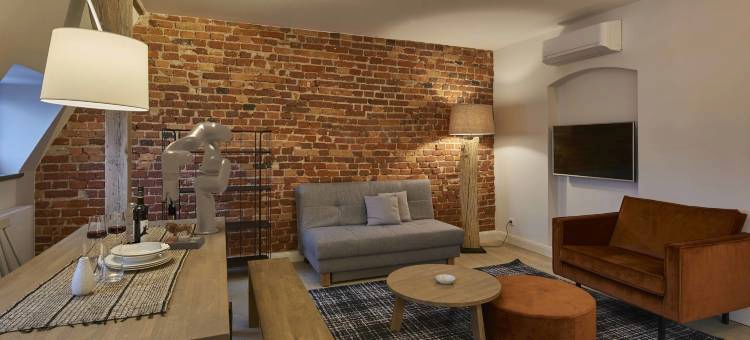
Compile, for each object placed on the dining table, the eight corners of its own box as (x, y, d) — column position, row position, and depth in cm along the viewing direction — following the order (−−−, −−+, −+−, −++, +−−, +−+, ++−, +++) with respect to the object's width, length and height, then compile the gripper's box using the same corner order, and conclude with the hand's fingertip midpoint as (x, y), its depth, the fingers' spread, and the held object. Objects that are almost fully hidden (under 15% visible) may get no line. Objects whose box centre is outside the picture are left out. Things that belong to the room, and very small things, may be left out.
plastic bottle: (136, 244, 206) (134, 204, 204) (122, 244, 206) (120, 203, 204) (143, 241, 212) (142, 202, 211) (130, 241, 212) (128, 202, 211)
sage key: (192, 242, 205) (192, 237, 205) (201, 241, 206) (201, 237, 206) (190, 244, 201) (190, 239, 201) (198, 243, 202) (198, 239, 202)
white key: (181, 240, 205) (181, 235, 204) (189, 240, 205) (189, 235, 205) (178, 242, 201) (178, 237, 200) (187, 242, 201) (187, 237, 201)
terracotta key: (169, 240, 204) (169, 236, 204) (178, 240, 204) (178, 235, 204) (167, 242, 200) (166, 238, 200) (175, 242, 200) (175, 237, 200)
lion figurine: (165, 240, 214) (165, 222, 214) (165, 238, 219) (164, 221, 218) (196, 237, 222) (196, 220, 221) (195, 235, 226) (194, 218, 226)
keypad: (169, 243, 207) (169, 237, 207) (204, 242, 209) (204, 236, 209) (161, 250, 195) (161, 243, 195) (198, 248, 197) (198, 242, 197)
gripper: (167, 175, 207) (169, 212, 208) (157, 178, 192) (158, 218, 193) (184, 175, 208) (185, 212, 209) (174, 178, 193) (175, 217, 194)
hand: (172, 215), depth 201 cm, fingers closed
